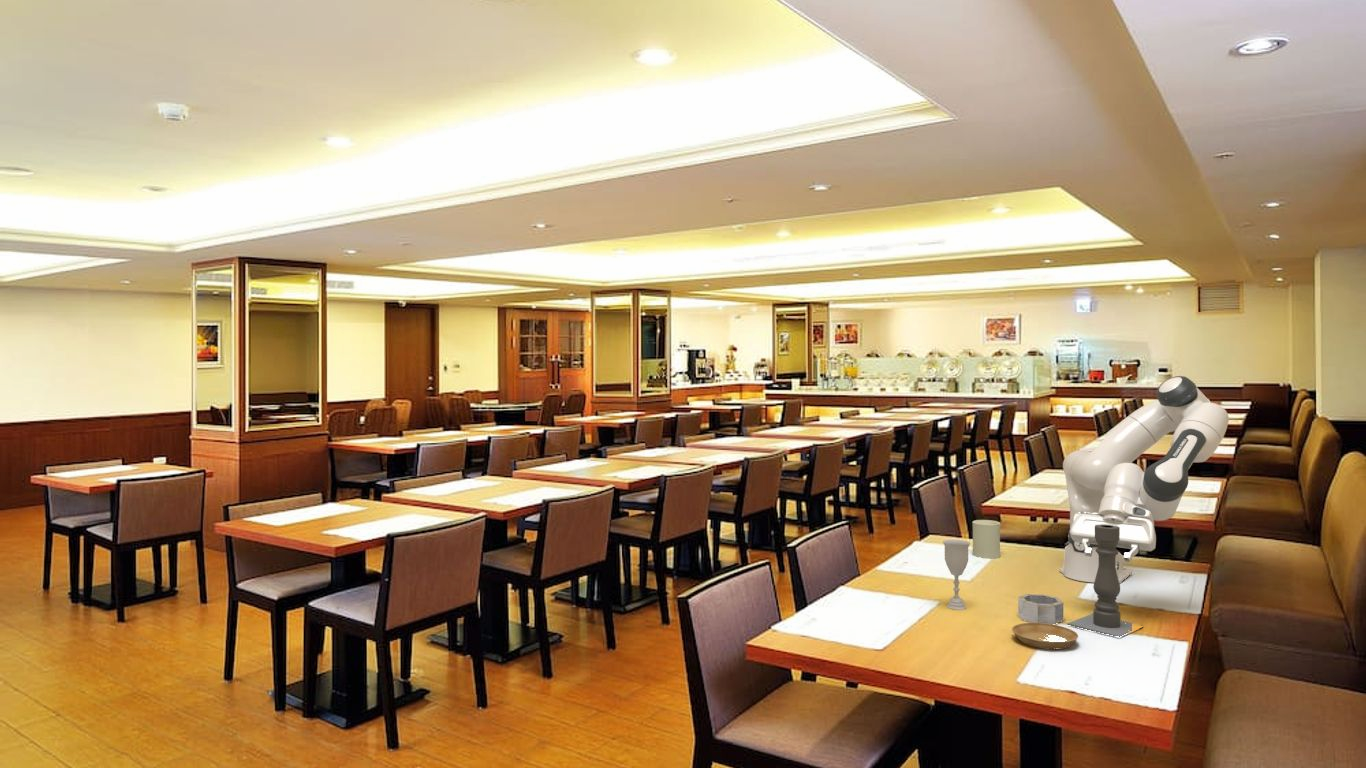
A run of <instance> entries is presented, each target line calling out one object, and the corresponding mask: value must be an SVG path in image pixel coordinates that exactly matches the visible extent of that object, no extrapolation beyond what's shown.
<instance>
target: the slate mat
mask: <svg viewBox="0 0 1366 768" xmlns="http://www.w3.org/2000/svg"><path fill="white" fill-rule="evenodd" d="M1125 623H1126V624H1125ZM1132 623H1133V622H1131V621H1130V622H1129V621H1127V620H1122V619H1120V627H1118V628H1105V627H1100V626H1097V625H1095V624H1094V623H1093V613H1090V614H1088V615H1085V616H1082V617H1080V618H1078V619H1075V620H1073V621H1070V622H1068V623H1067V624H1066V625H1071V626H1075V627H1079V628H1083V629H1087V630H1091V631H1096V632H1100V633H1104V634H1109V635H1113V636H1119V637H1120V636H1122V635H1124V634H1126V633H1128V632H1129V631H1132ZM1128 630H1129V631H1128Z"/></svg>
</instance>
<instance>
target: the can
mask: <svg viewBox="0 0 1366 768" xmlns="http://www.w3.org/2000/svg"><path fill="white" fill-rule="evenodd" d="M971 555H972V556H973V555H974V557H975V556H976V557H977V558H979V557H981V558H980V559H998V558H1000V557H1002V556H1001V522H999V521H998V520H990V519H976V520H973V521H972V553H971Z"/></svg>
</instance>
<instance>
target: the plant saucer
mask: <svg viewBox="0 0 1366 768" xmlns="http://www.w3.org/2000/svg"><path fill="white" fill-rule="evenodd" d="M1011 630H1012V632H1013V634H1014V635H1015V636H1016V638H1017V639H1018V640H1020V641H1021V642H1022V643H1023V644H1025V645H1028V646H1031V647H1033V646H1034V647H1033V648H1038V647H1039V648H1040V649H1044V648H1049V649H1048V650H1057V649H1056V648H1062V649H1066V648H1069V647H1070V646H1071V645H1073V643H1075V642H1076V640H1078V639H1079V634H1078V633H1077V632H1076V631H1075V630H1072V629H1071V628H1068V627H1065V626H1062V625H1058V624H1056V625H1053V624H1046V623H1031V622H1024V623H1019V624H1015V625H1013V626H1012V627H1011ZM1046 634H1048V635H1056V636H1059V637H1062V638H1065V639H1066V640H1067V641H1065V642H1049V641H1043V640H1041V639H1046V638H1045V637H1048V635H1046ZM1044 636H1045V637H1044ZM1039 638H1041V639H1039ZM1048 638H1049V637H1048ZM1046 640H1047V639H1046ZM1065 647H1066V648H1065ZM1039 648H1038V649H1039ZM1054 648H1055V649H1054Z"/></svg>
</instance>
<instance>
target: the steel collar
mask: <svg viewBox="0 0 1366 768" xmlns="http://www.w3.org/2000/svg"><path fill="white" fill-rule="evenodd" d="M1017 606H1018V607H1017V614H1018V615H1017V616H1018V617H1019V618H1020V619H1021V620H1022V621H1024V622H1026V623H1046V624H1056V623H1058V622H1061V621H1063V622H1064V601H1063V600H1061V599H1060V597H1057V596H1053V595H1047V594H1044V593H1025V594H1023V595H1022V594H1021V595H1019V596H1018V597H1017ZM1061 623H1062V622H1061ZM1058 624H1059V623H1058ZM1056 625H1057V624H1056Z"/></svg>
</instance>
